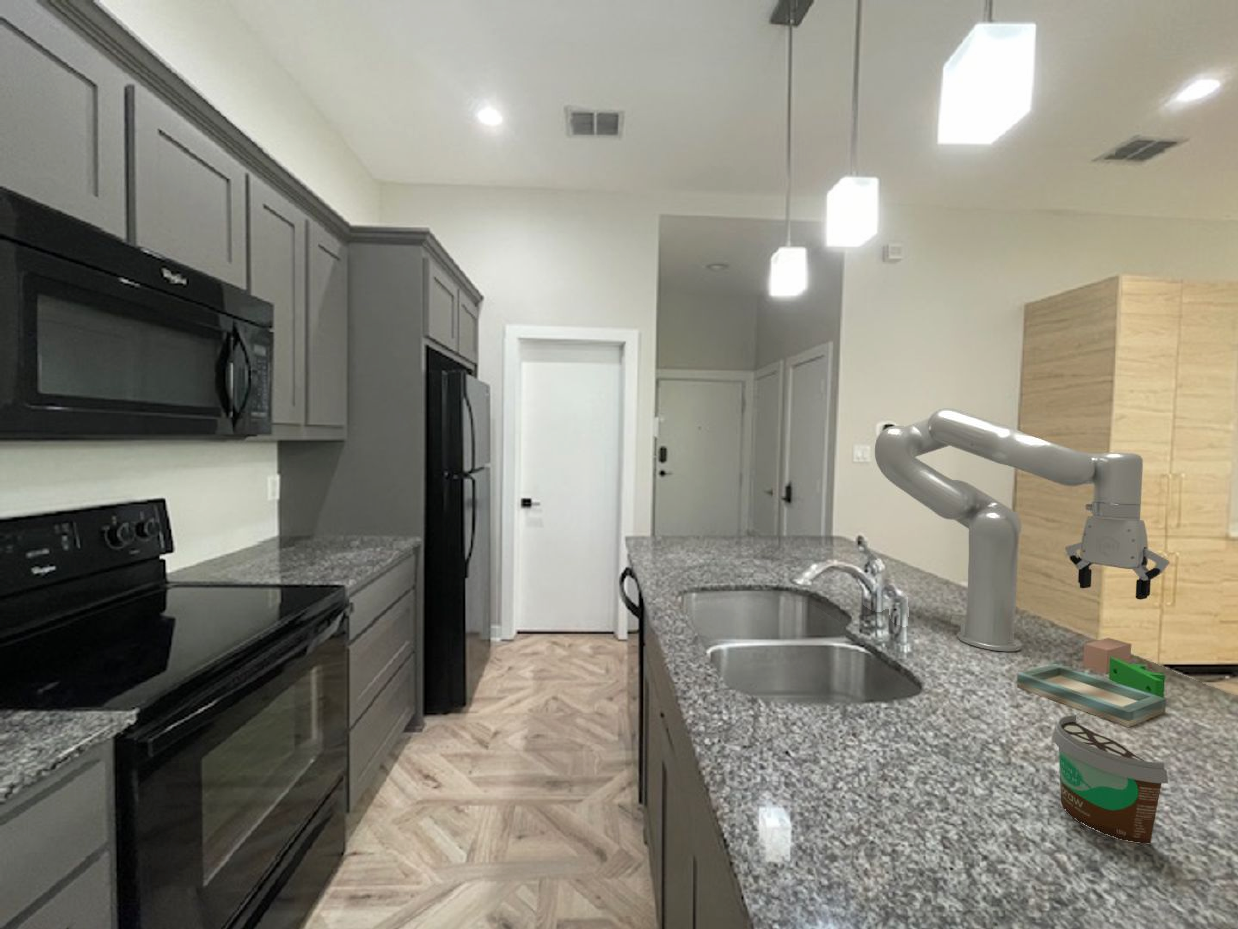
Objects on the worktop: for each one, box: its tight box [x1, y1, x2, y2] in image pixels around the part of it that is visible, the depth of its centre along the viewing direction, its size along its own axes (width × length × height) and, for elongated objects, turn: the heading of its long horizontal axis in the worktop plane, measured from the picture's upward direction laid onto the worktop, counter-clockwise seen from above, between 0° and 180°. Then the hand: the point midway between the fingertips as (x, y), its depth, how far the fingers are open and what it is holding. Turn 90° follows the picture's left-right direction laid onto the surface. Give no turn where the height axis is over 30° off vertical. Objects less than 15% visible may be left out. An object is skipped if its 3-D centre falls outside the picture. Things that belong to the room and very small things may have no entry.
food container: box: [1051, 714, 1169, 844], centre depth 69 cm, size 12×6×10 cm, turn 5°
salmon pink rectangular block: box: [1082, 637, 1132, 674], centre depth 120 cm, size 4×10×5 cm, turn 117°
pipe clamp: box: [1108, 658, 1166, 698], centre depth 108 cm, size 11×4×5 cm, turn 173°
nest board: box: [1016, 663, 1167, 728], centre depth 104 cm, size 17×13×2 cm
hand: (1112, 593), depth 120 cm, fingers open, 9 cm apart
